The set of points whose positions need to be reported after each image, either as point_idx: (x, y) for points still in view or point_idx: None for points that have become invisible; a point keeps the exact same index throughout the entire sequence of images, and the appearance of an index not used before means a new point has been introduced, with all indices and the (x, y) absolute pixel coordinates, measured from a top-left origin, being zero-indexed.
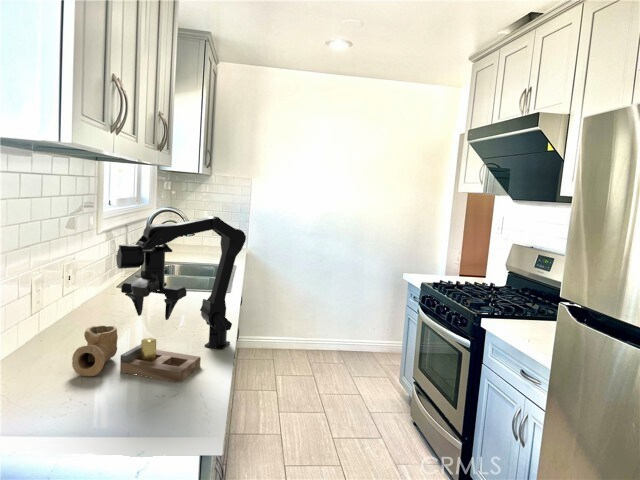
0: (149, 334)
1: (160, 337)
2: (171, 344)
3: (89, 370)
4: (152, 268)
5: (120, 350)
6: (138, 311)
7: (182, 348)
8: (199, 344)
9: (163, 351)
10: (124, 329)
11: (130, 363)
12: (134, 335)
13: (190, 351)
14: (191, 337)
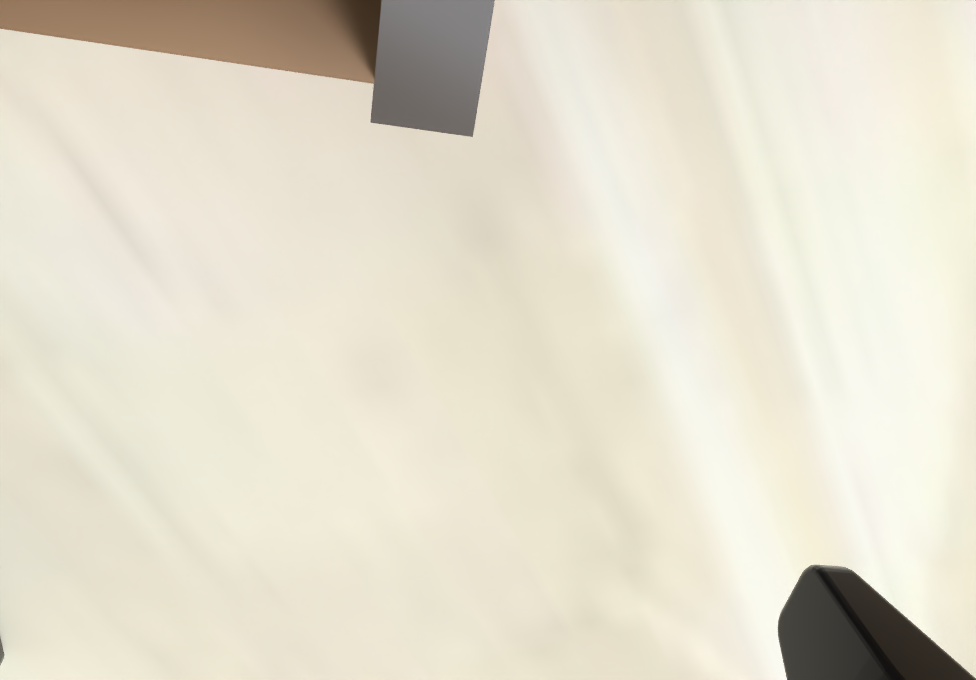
0: (683, 635)
1: (551, 605)
2: (356, 492)
3: None
4: None
5: (866, 198)
6: (899, 669)
7: (175, 429)
8: (72, 559)
9: (96, 10)
10: None
11: None
12: None
13: (29, 377)
14: (260, 670)
